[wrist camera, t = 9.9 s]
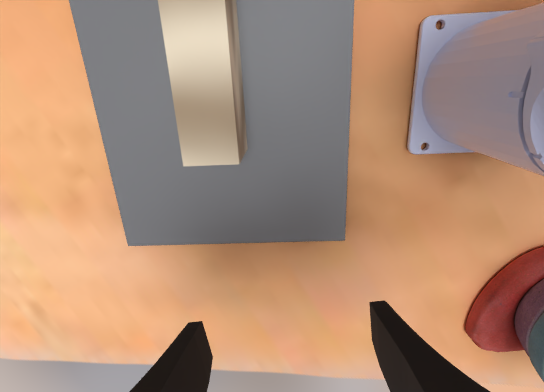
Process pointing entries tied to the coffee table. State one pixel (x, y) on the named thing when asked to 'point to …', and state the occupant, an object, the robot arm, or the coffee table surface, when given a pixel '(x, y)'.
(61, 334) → the coffee table surface
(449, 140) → the robot arm
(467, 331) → the stacking bear
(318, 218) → the board
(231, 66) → the slat
